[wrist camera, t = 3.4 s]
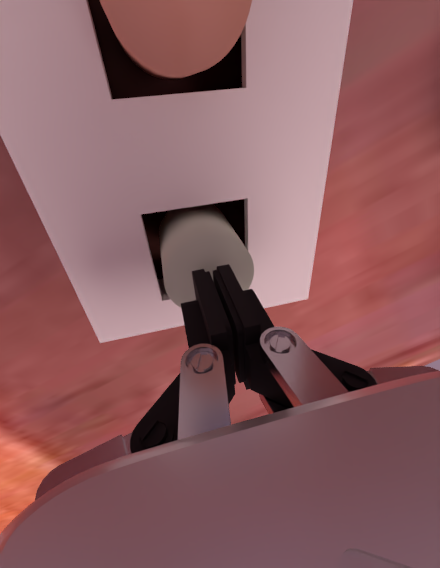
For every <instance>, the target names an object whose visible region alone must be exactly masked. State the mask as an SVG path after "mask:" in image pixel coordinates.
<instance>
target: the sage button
mask: <svg viewBox="0 0 440 568" xmlns="http://www.w3.org/2000/svg"><path fill="white" fill-rule="evenodd" d="M159 243H160V252H161V261H162V269H163V278H164V286H165V289H166V292H167V294H168V296H169V298H170V299H171V300H172V301H173V302H174V303H175V304H176V305H177V306H179V307H180V308H181V303H184V302H189V301H194V300H196V297H195V290H194V284H193V278H192V271H195V270H200V269H204V270H205V272H207V271H209V272H210V274H211V277H212V279H213V270H217V266H221V265H227V264H229V265H230V267H231V269H232V271H233V272H234V274H235V276H236V278H237V280H238V282H239V284H240V286H241V288H242V290H248V289H249V287H250V285H251V283H252V280H253V276H254V264H253V260H252V257H251V255H250V254H249V252H248V250H247V249H246V247H245V246H244V244H243V243H242V241H241V240H240V238H239V237H238V235H237V234H236V232H235V231H234V229H233V228H232V226H231V225H230V223H229V222H228V220H227V219H226V217H225V216H224V214H223V213H222V212H221V211H220V210H219V209H218V208H217V207H216V206H214V205H213V204H207V205H201V206H194V207H187V208H181V209H174V210H169V211H168V212H167V213H166V215H165V216H164V218H163V219H162V221H161V224H160V227H159ZM213 282H214V281H213Z"/></svg>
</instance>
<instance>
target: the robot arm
mask: <svg viewBox="0 0 440 568" xmlns="http://www.w3.org/2000/svg"><path fill="white" fill-rule="evenodd" d="M192 278H193V284H194V290H195V297H196V300H194V301H189V302H184V303H181V309H182V314H183V319H184V325H185V330H186V335H187V340H188V346H189V349H188V350H187V351H186V352H185V353H184V354H183V356H182V359H181V368H180V374H179V375H178V376H177V377H176V379H175V380H174V381H173V382H172V383H171V385H170V386H169V387H168V388H167V389H166V391H165V392H164V393H163V394H162V395H161V397H160V398H159V399H158V400H157V401H156V403H155V404H154V405H153V406H152V407H151V409H150V410H149V411H148V412H147V413H146V415H145V416H144V417H143V418H142V419H141V421H140V422H139V423H138V424H137V426H136V427H135V429H134V430H133V432H132V433H130V434H128V435H126V436H124V437H123V436H122V435H119V436H117V437H115V438H113V439H111V440H109V441H107V442H105V443H103V444H101V445H99V446H97V447H95V448H93V449H91V450H89V451H87V452H85V453H83V454H81V455H79V456H77V457H75V458H73V459H71V460H69V461H67V462H65V463H63V464H61V465H59V466H58V467H56V468H55V469H53V470H52V471H50V473H49V474H48V475H47V476H46V477H45V478H44V479H43V481H42V482H41V484H40V486H39V488H38V490H37V493H36V498H35V501H34V502H33V503H31V504H30V505H29V506H28V507H27V508H26V509H24V510H23V511H22V512H21V513H20V514H19V515H18V516H16V517H15V518H14V519H13V520H12V521H11V522H10V523H9V524H8V525H7V527H6V528H5V529H4V530H3V531H2V533H1V534H0V568H440V371H438V370H436V369H433V368H431V367H425V366H411V367H383V368H370V370H369V371H365V370H364V369H362V368H360V367H358V366H355V365H352V364H350V363H347V362H344V361H341V360H339V359H336V358H333V357H330V356H328V355H325V354H322V353H319V352H317V351H314V350H311V349H310V348H309V347H308V346H307V345H306V343H305V342H304V341H303V340H302V339H301V338H300V337H299V336H298V335H297V334H296V333H295V332H294V331H292V330H290V329H288V328H285V327H274V325H273V324H272V322H271V320H270V318H269V317H268V315H267V313H266V311H265V310H264V308H263V306H262V304H261V303H260V301H259V299H258V297H257V296H256V294H255V292H254V291H253V289H248V290H242V288H241V286H240V284H239V282H238V280H237V278H236V276H235V274H234V272H233V271H232V269H231V267H230V265H229V264H227V265H221V266H217V270H213V279H212V277H211V274H210V272H209V271H207V272H205V270H204V269H200V270H195V271H192ZM213 281H214V282H213ZM235 372H236V375H237V378H238V381H239V383H241V382H244V384H245V387H246V390H247V389H251V390H253V391H255V392H257V393H259V397H260V399H261V401H262V403H263V405H264V407H265V408H266V410H267V412H268V413H269V414H268V415H265V416H261V417H258V418H254V419H250V420H247V421H243V422H240V423H236V424H233V425H231V421H230V413H229V403H230V401H231V400H232V398H233V396H234V395H235V386H234V384H236V380H235Z"/></svg>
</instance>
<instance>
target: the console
mask: <svg viewBox="0 0 440 568" xmlns="http://www.w3.org/2000/svg"><path fill="white" fill-rule="evenodd" d="M352 5H353V0H252V3H251V7H250V12H249V15H248V18H247V21H246V24H245V26H244V28H243V30H242V33H241V53H242V88H235V89H224V90H212V91H201V92H190V93H179V94H168V95H157V96H145V97H134V98H123V99H112V95H111V90H110V86H109V82H108V78H107V74H106V70H105V66H104V62H103V58H102V54H101V50H100V46H99V42H98V38H97V34H96V30H95V26H94V22H93V18H92V14H91V10H90V6H89V2H88V0H0V135H1V137H2V140H3V142H4V144H5V146H6V148H7V150H8V152H9V154H10V156H11V158H12V160H13V162H14V165H15V167H16V169H17V171H18V173H19V175H20V177H21V179H22V181H23V183H24V185H25V187H26V190H27V192H28V194H29V196H30V198H31V200H32V202H33V204H34V206H35V208H36V210H37V212H38V215H39V217H40V219H41V221H42V223H43V225H44V227H45V229H46V231H47V233H48V235H49V237H50V240H51V242H52V244H53V246H54V248H55V250H56V252H57V254H58V256H59V258H60V260H61V262H62V265H63V267H64V269H65V271H66V273H67V275H68V277H69V279H70V281H71V283H72V285H73V287H74V290H75V292H76V294H77V296H78V298H79V300H80V302H81V304H82V306H83V308H84V310H85V312H86V315H87V317H88V319H89V321H90V323H91V325H92V327H93V329H94V331H95V333H96V335H97V337H98V340H99V342H100V343H103V342H108V341H112V340H117V339H122V338H126V337H131V336H136V335H140V334H145V333H150V332H155V331H159V330H164V329H169V328H173V327H178V326H183V325H184V319H183V314H182V309H181V308H180V307H179V306H177V305H176V304H175V303H174V302H173V301H172V300H171V299H170V298H169V296H168V294H167V292H166V289H165V286H164V279H159V280H158V279H157V275H156V271H155V267H154V263H153V259H152V255H151V251H150V247H149V243H148V239H147V235H146V231H145V227H144V223H143V219H142V215H141V214H147V213H154V212H161V211H167V210H174V209H181V208H187V207H194V206H201V205H207V204H214V203H220V202H227V201H234V200H240V199H244V214H245V247H246V249H247V250H248V252H249V254H250V255H251V257H252V260H253V264H254V276H253V280H252V283H251V285H250V287H249V289H253V291H254V292H255V294H256V296H257V297H258V299H259V301H260V303H261V304H262V306H263V308H267V307H272V306H277V305H282V304H286V303H291V302H296V301H300V300H305V299H308V295H309V288H310V282H311V275H312V268H313V262H314V255H315V249H316V242H317V236H318V229H319V222H320V216H321V209H322V203H323V196H324V190H325V183H326V176H327V170H328V163H329V157H330V150H331V144H332V137H333V130H334V124H335V117H336V111H337V104H338V97H339V91H340V84H341V78H342V71H343V65H344V58H345V51H346V45H347V38H348V32H349V25H350V19H351V12H352Z"/></svg>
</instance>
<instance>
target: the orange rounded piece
mask: <svg viewBox="0 0 440 568" xmlns="http://www.w3.org/2000/svg"><path fill="white" fill-rule="evenodd" d="M100 3H101V5H102V7H103V10H104V12H105V14H106V16H107V18H108V20H109V22H110V24H111V27H112V29H113V31H114V33H115V35H116V37H117V39H118V41H119V43H120V45H121V47H122V48H123V50H124V52H125V53H126V54H127V56H128V57H129V58H130V59H131V60H132V61H133V62H134V64H135V65H137V66H138V67H139V68H140V69H141V70H143V71H144V72H146V73H147V74H149V75H151V76H153V77H156V78H159V79H164V80H177V79H181V78H184V77H187V76H190V75H193V74H196V73H198V72H201V71H204V70H207V69H208V68H210V67H212V66H214V65H215V64H217V63H218V62H219V61H221V60H222V59H223V58H224V57H225V56H226V55H227V54H228V53H229V51H230V50H231V49H232V47H233V46H234V45H235V43H236V42H237V40H238V38H239V36H240V35H241V33H242V30H243V28H244V26H245V24H246V21H247V18H248V15H249V12H250V7H251V3H252V0H100Z"/></svg>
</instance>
